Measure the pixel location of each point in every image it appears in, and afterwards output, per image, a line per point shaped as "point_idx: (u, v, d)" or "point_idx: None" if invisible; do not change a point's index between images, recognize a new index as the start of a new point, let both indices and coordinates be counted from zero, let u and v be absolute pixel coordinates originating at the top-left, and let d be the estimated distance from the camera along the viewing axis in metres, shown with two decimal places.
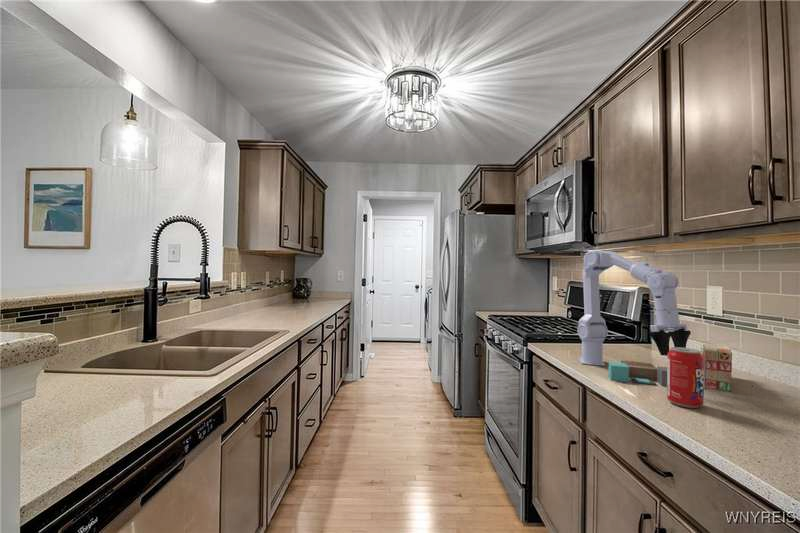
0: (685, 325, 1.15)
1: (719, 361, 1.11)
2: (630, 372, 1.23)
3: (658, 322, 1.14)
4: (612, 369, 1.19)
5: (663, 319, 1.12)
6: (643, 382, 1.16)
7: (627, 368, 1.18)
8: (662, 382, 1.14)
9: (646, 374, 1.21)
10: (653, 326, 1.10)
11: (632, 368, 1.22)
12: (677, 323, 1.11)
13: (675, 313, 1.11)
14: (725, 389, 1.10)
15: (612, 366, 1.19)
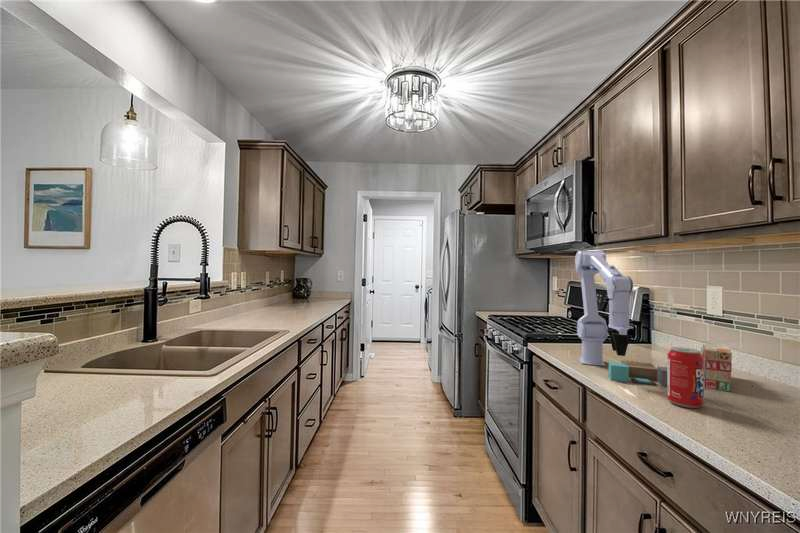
0: None
1: (719, 361, 1.11)
2: (630, 372, 1.23)
3: (615, 324, 1.19)
4: (612, 369, 1.19)
5: (622, 321, 1.18)
6: (643, 382, 1.16)
7: (627, 368, 1.18)
8: (662, 382, 1.14)
9: (646, 374, 1.21)
10: (623, 329, 1.14)
11: (632, 368, 1.22)
12: (628, 325, 1.20)
13: (628, 316, 1.19)
14: (725, 389, 1.10)
15: (612, 366, 1.19)
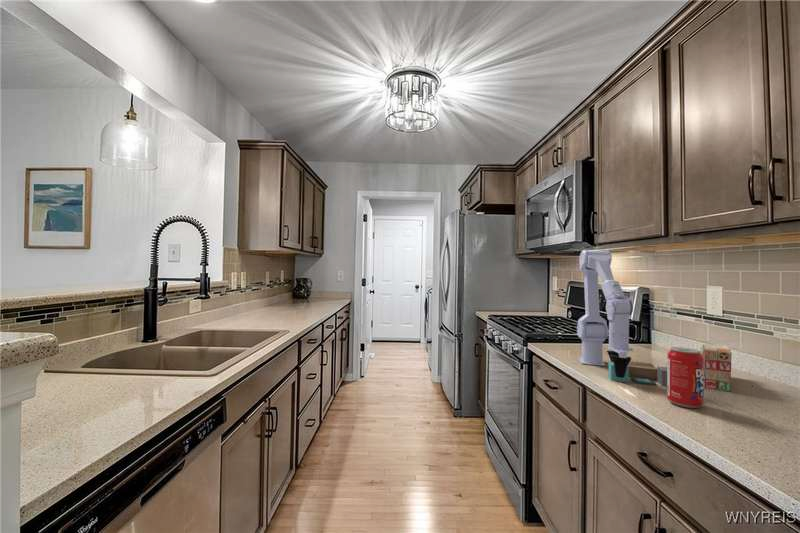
0: None
1: (719, 361, 1.11)
2: (629, 372, 1.23)
3: (615, 346, 1.19)
4: (612, 369, 1.19)
5: (622, 343, 1.18)
6: (643, 382, 1.16)
7: (627, 368, 1.18)
8: (662, 382, 1.14)
9: (646, 374, 1.21)
10: (623, 352, 1.14)
11: (632, 368, 1.22)
12: (628, 347, 1.20)
13: (628, 338, 1.19)
14: (725, 389, 1.10)
15: (612, 366, 1.19)
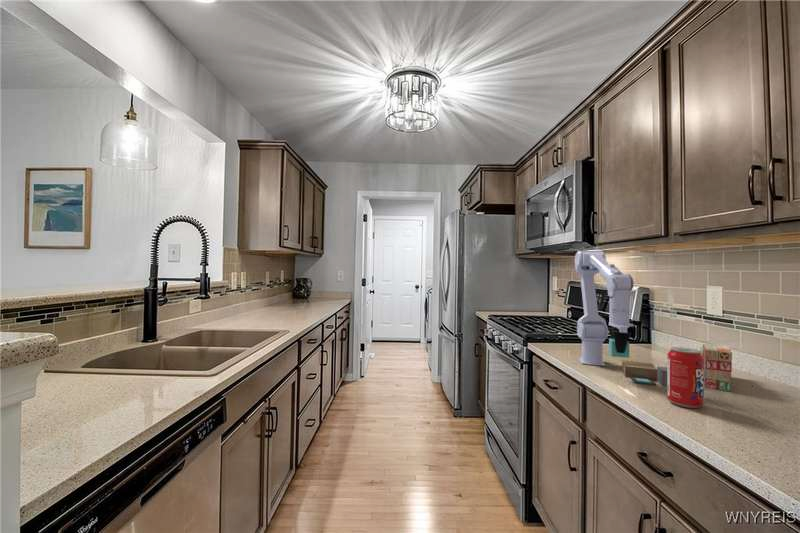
0: None
1: (719, 361, 1.11)
2: (629, 372, 1.23)
3: (615, 321, 1.19)
4: (612, 345, 1.19)
5: (622, 319, 1.18)
6: (643, 382, 1.16)
7: (627, 343, 1.18)
8: (662, 382, 1.14)
9: (646, 374, 1.21)
10: (623, 327, 1.14)
11: (631, 368, 1.23)
12: None
13: None
14: (725, 389, 1.10)
15: (612, 342, 1.19)
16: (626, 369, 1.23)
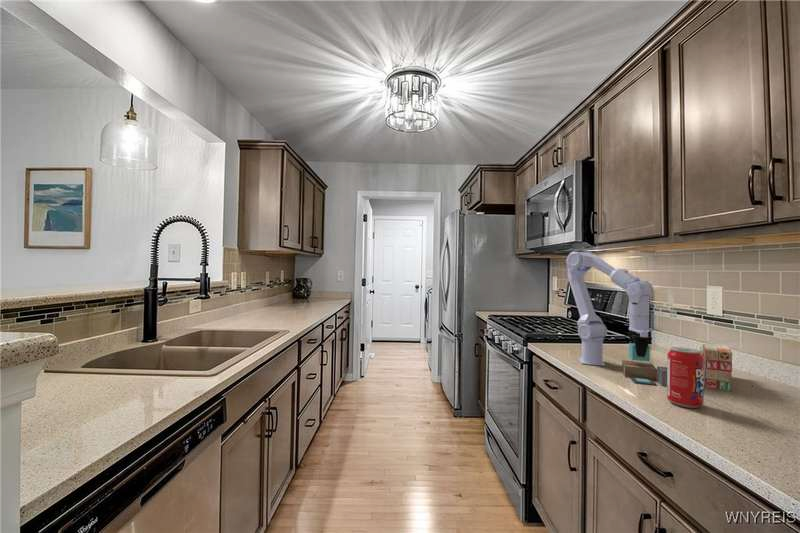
0: None
1: (719, 361, 1.11)
2: (629, 372, 1.23)
3: (636, 326, 1.24)
4: (633, 349, 1.24)
5: (643, 324, 1.23)
6: (643, 382, 1.16)
7: (648, 347, 1.22)
8: (662, 382, 1.14)
9: (645, 374, 1.21)
10: (644, 332, 1.19)
11: (631, 368, 1.23)
12: (648, 328, 1.24)
13: None
14: (725, 388, 1.11)
15: (633, 346, 1.24)
16: (626, 369, 1.23)
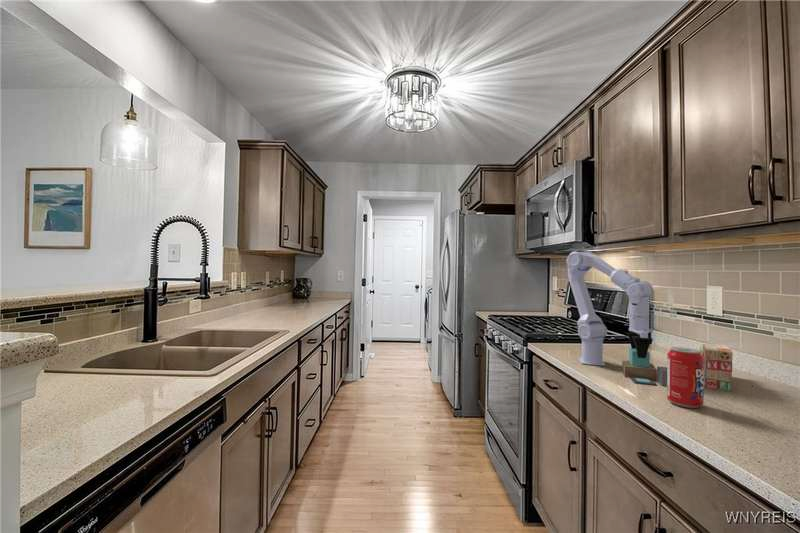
0: None
1: (720, 360, 1.11)
2: (628, 372, 1.23)
3: (636, 327, 1.24)
4: (633, 355, 1.24)
5: (643, 325, 1.23)
6: (643, 382, 1.16)
7: (648, 353, 1.22)
8: (662, 382, 1.14)
9: (645, 374, 1.21)
10: (644, 333, 1.19)
11: (631, 368, 1.23)
12: (648, 328, 1.24)
13: None
14: (725, 388, 1.11)
15: (633, 352, 1.24)
16: (626, 369, 1.23)
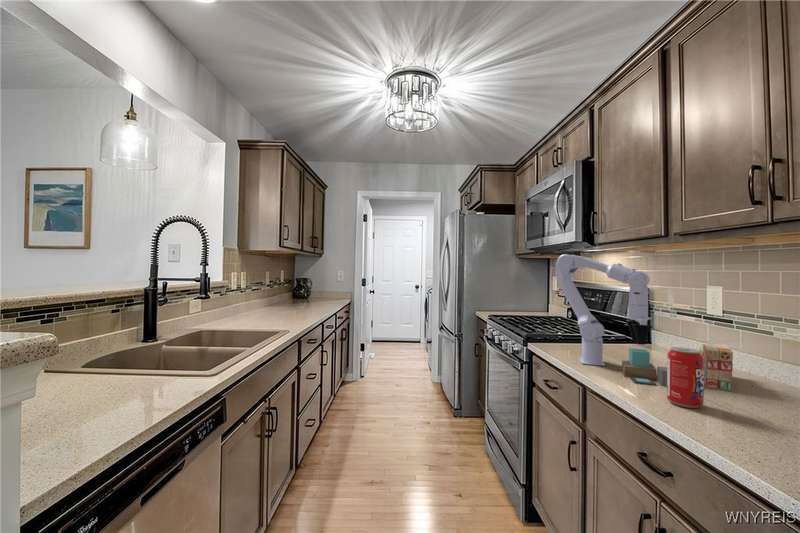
0: None
1: (720, 360, 1.11)
2: (628, 372, 1.23)
3: (635, 315, 1.29)
4: (633, 355, 1.24)
5: (642, 313, 1.28)
6: (643, 382, 1.16)
7: (648, 354, 1.22)
8: (662, 382, 1.14)
9: (645, 374, 1.21)
10: (643, 320, 1.24)
11: (630, 368, 1.23)
12: (647, 316, 1.29)
13: None
14: (726, 388, 1.11)
15: (633, 352, 1.24)
16: (625, 369, 1.23)
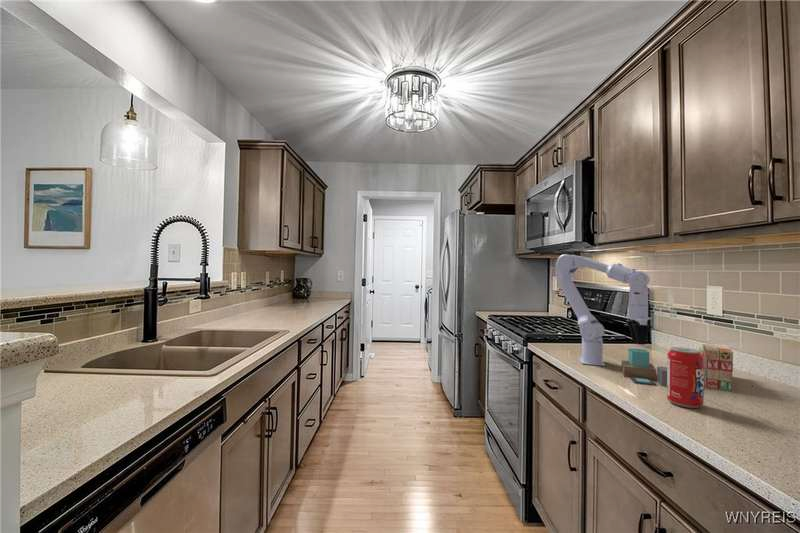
0: None
1: (720, 360, 1.11)
2: (628, 372, 1.23)
3: (635, 315, 1.29)
4: (633, 355, 1.24)
5: (642, 313, 1.28)
6: (643, 382, 1.16)
7: (648, 353, 1.23)
8: (662, 382, 1.14)
9: (644, 374, 1.21)
10: (643, 320, 1.24)
11: (630, 368, 1.23)
12: (647, 316, 1.29)
13: None
14: (726, 388, 1.11)
15: (633, 352, 1.24)
16: (625, 369, 1.24)
